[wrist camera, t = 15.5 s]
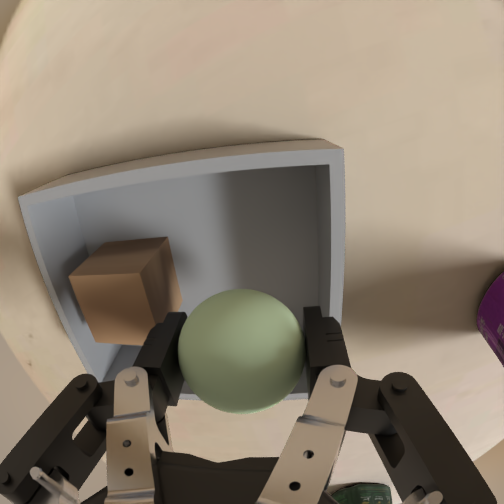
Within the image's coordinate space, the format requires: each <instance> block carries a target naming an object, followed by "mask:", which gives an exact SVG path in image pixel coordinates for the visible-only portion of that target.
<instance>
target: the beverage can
mask: <svg viewBox="0 0 504 504" xmlns="http://www.w3.org/2000/svg"><path fill="white" fill-rule="evenodd" d="M477 327H478V330H479V331H480V333H481V334H482V336H483V337H484V338H485V340H486V341H487V343H488V344H489V346H490V347H491V349H492V350H493V351H494V353H495V354H496V356H497V357H498V359H499V360H500V362H501V363H502V365H503V367H504V272H503V273H502V274H500V275H499V276H498V277H497V279H496V280H495V281H494V282H493V283H492V285H491V286H490V287H489V289H488V290H487V292H486V294H485V295H484V297H483V299H482V302H481V304H480V307H479V310H478V314H477Z"/></svg>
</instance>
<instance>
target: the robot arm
mask: <svg viewBox="0 0 504 504" xmlns="http://www.w3.org/2000/svg"><path fill="white" fill-rule="evenodd" d="M187 318H188V317H187V314H186V312H168V313H167V315H166V317H165V319H164V321H163V323H157V324H156V325H155V326H154V327H153V328H152V329H151V330H150V331H149V333H148V335H147V337H146V339H145V341H144V343H143V346H142V347H141V350H140V352H139V354H138V356H137V358H136V360H135V362H134V364H133V366H132V367H129V368H126V369H124V370H122V371H121V372H120V373H119V374H118V375H117V376H116V378H115V380H112V381H106V382H98V381H97V379H96V377H95V376H93V375H91V374H81V375H79V376H77V377H75V378H74V379H73V380H72V381H71V382H70V383H69V384H68V385H67V386H66V387H65V388H64V390H63V391H62V392H61V393H60V394H59V395H58V396H57V398H56V399H55V400H54V401H53V402H52V403H51V404H50V406H49V407H48V408H47V409H46V410H45V411H44V413H43V414H42V415H41V416H40V417H39V418H38V419H37V421H36V422H35V423H34V424H33V425H32V426H31V428H30V429H29V430H28V431H27V432H26V434H25V435H24V436H23V437H22V438H21V440H20V441H19V442H18V443H17V444H16V446H15V447H14V448H13V449H12V450H11V452H10V453H9V454H8V455H7V457H6V458H5V459H4V460H3V462H2V463H1V464H0V494H2V495H3V496H4V497H6V498H7V499H9V500H10V501H11V502H12V503H13V504H339V503H338V502H337V501H336V500H335V499H334V498H332V497H331V496H330V495H329V494H328V493H327V492H326V491H327V488H328V485H329V483H330V480H331V477H332V474H333V471H334V468H335V465H336V462H337V459H338V456H339V453H340V450H341V447H342V443H343V440H344V437H345V434H346V430H347V431H353V432H360V433H368V435H369V437H370V438H371V440H372V442H373V444H374V446H375V448H376V450H377V452H378V454H379V456H380V458H381V460H382V462H383V464H384V466H385V468H386V470H387V472H388V474H389V476H390V478H391V480H392V482H393V484H394V486H395V488H396V490H397V492H398V494H399V496H400V498H401V500H402V502H403V503H402V504H497V501H496V498H495V496H494V495H493V493H492V492H491V490H490V488H489V487H488V485H487V483H486V482H485V480H484V479H483V477H482V476H481V474H480V472H479V471H478V469H477V468H476V467H475V465H474V463H473V462H472V460H471V459H470V457H469V456H468V454H467V453H466V451H465V450H464V448H463V447H462V445H461V444H460V442H459V441H458V439H457V438H456V436H455V435H454V433H453V432H452V430H451V429H450V428H449V426H448V425H447V423H446V422H445V420H444V419H443V417H442V416H441V415H440V413H439V412H438V410H437V409H436V408H435V406H434V405H433V403H432V402H431V401H430V399H429V398H428V396H427V395H426V394H425V392H424V391H423V390H422V388H421V387H420V385H419V384H418V383H417V381H416V380H415V379H414V378H413V377H412V376H410V375H409V374H406V373H403V372H394V373H390V374H388V375H386V376H385V377H384V378H383V379H382V381H378V380H370V379H365V378H362V377H360V376H359V375H357V374H356V372H355V371H354V370H353V369H352V368H351V366H350V362H349V358H348V354H347V350H346V346H345V342H344V338H343V334H342V330H341V327H340V323H339V322H338V321H337V320H336V319H335V318H334V317H333V316H332V317H322V313H321V308H320V306H309V307H303V334H304V338H305V343H306V360H305V367H306V378H307V390H308V404H307V407H306V409H305V412H304V414H303V416H302V417H301V416H300V417H299V418H298V419H297V421H296V423H295V425H294V427H293V429H292V432H291V434H290V436H289V438H288V440H287V442H286V445H285V447H284V449H283V451H282V453H281V455H280V457H249V458H244V459H238V460H233V461H227V462H220V463H216V462H212V461H209V460H206V459H203V458H200V457H196V456H193V455H190V454H184V453H175V452H174V451H173V447H172V441H171V435H170V429H169V423H168V417H167V414H166V409H167V406H177V403H178V400H179V396H180V393H181V390H182V386H183V383H184V380H185V379H184V377H183V375H182V372H181V369H180V366H179V360H178V341H179V337H180V333H181V330H182V327H183V325H184V323H185V322H186V320H187ZM85 416H86V417H87V419H88V421H87V423H86V424H85V425H84V427H83V428H82V429H81V431H80V432H79V433H78V434H77V436H76V437H75V438H74V440H72V434H73V432H74V430H75V429H76V428H77V426H78V425H79V424H80V423H81V421H82V420H83V419H84V417H85ZM105 452H106V458H107V486H106V487H105V488H103V489H102V490H100V491H99V492H97V493H95V494H94V495H92V496H91V497H89V498H88V499H86V500H85V501H83V502H82V503H80V500H79V499H78V498H79V494H78V491H79V489H80V488H81V486H82V485H83V483H84V482H85V480H86V479H87V478H88V476H89V475H90V473H91V472H92V470H93V469H94V467H95V466H96V465H97V463H98V462H99V460H100V459H101V457H102V456H103V454H104V453H105Z"/></svg>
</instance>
